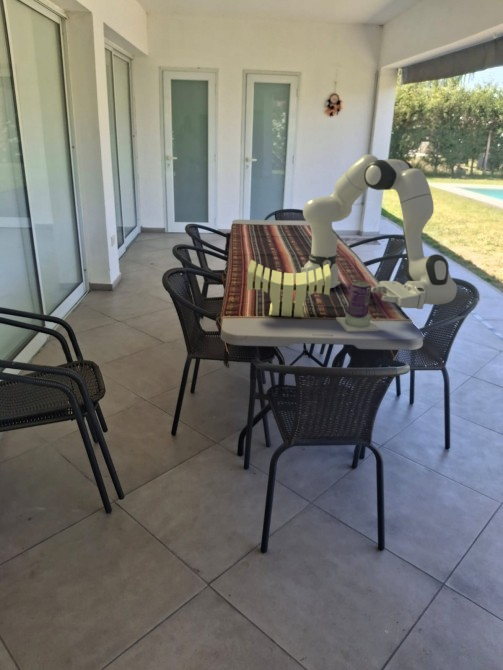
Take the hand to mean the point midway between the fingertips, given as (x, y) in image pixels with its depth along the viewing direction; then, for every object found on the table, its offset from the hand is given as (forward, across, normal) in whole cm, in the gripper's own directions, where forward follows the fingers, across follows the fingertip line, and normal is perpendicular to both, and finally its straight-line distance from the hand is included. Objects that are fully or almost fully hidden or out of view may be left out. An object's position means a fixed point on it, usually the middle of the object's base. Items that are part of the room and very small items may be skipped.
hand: (376, 293), depth 175 cm
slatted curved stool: (+29, -16, +12) cm, 35 cm away
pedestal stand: (+6, 0, +12) cm, 13 cm away
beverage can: (+6, 0, +8) cm, 10 cm away
